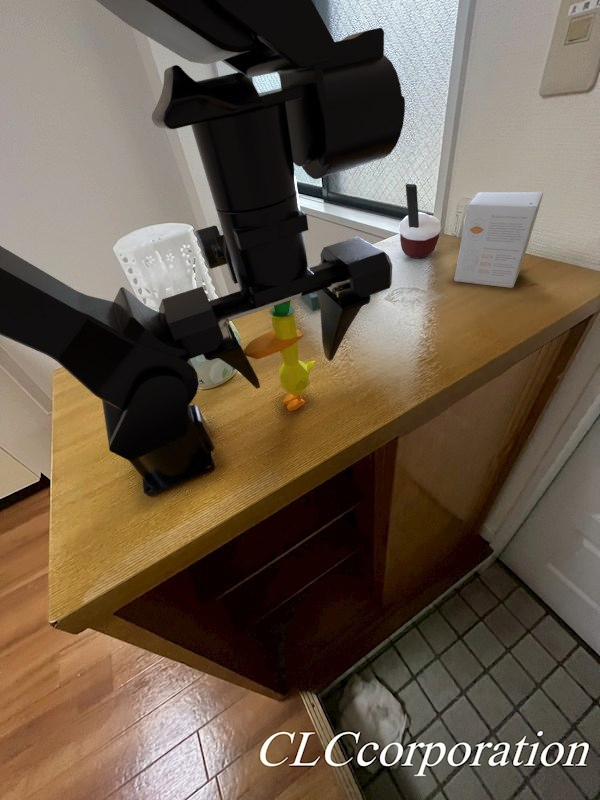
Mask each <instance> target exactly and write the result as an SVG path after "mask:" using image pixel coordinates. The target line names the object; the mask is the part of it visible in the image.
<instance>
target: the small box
mask: <svg viewBox="0 0 600 800" xmlns="http://www.w3.org/2000/svg"><path fill="white" fill-rule="evenodd" d="M543 196H544V192H543V191H537V192H536V191H534V192H533V191H530V192H529V191H528V192H527V191H525V192H524V191H523V192H521V191H520V192H519V191H513V192H510V191H506V192H505V191H503V192H501V191H499V192H498V191H497V192H495V191H489V192H486V191H484V192H483V191H482V192H481V191H479V192H477V193H476V194H475V196H474V197H473V198H472V199H471V201H470V202H469V203H468V204H467V206H466V211H465V217H464V222H463V229H462V234H461V240H460V245H459V251H458V256H457V263H456V267H455V274H454V282H457V283H464V284H465V283H466V284H467V283H468V284H476V285H482V286H483V285H484V286H492V287H501V288H508V289H513V288H514V287H515V284H516V283H517V282H516V281H517V279H518V276H519V273H520V271H521V269H522V265H523V262H524V259H525V256H526V253H527V249H528V246H529V242H530V240H531V236H532V233H533V230H534V226H535V223H536V220H537V218H538V217H537V216H538V213H539V211H540V206H541V203H542V200H543Z"/></svg>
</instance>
